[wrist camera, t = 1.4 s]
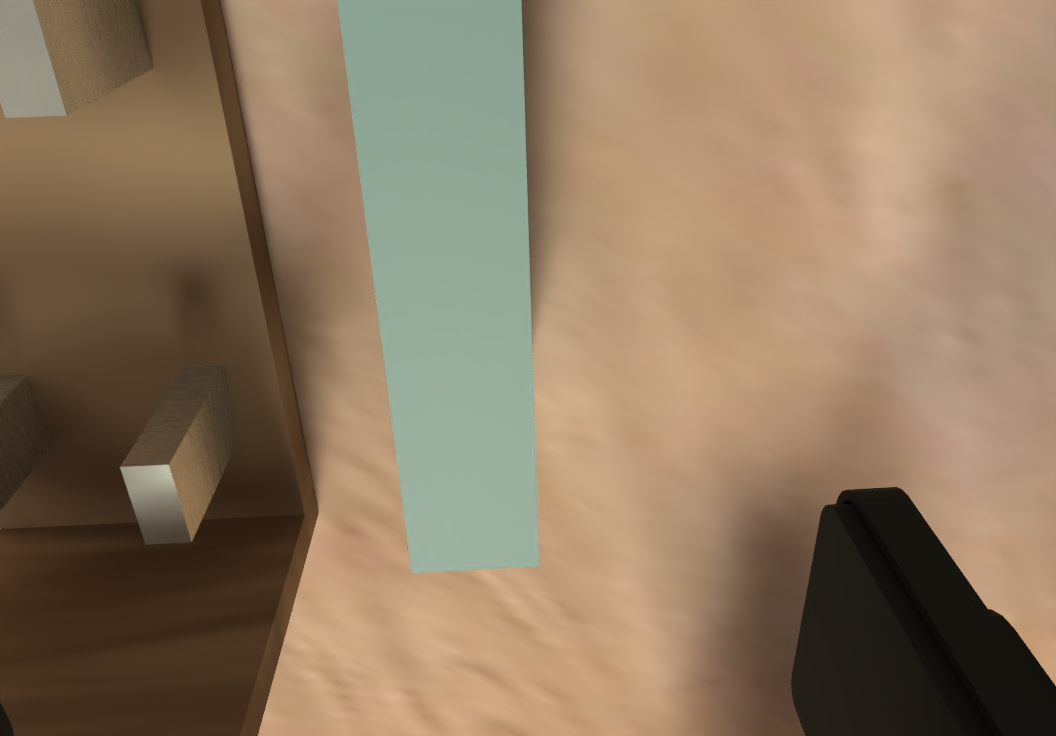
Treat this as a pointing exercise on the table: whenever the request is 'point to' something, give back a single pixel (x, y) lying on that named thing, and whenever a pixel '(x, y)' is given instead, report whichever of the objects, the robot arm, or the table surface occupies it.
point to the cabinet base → (138, 382)
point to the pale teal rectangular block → (450, 267)
